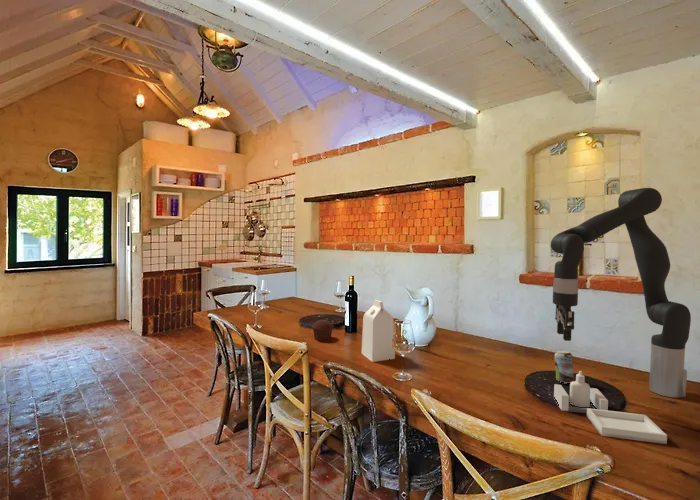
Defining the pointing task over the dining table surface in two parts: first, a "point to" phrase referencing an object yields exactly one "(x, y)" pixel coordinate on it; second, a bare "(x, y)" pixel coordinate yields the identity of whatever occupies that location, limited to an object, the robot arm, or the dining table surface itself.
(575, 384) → the eye dropper bottle
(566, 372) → the beverage can
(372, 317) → the milk
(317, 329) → the muffin
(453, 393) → the dining table surface
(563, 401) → the holder
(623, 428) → the tray
